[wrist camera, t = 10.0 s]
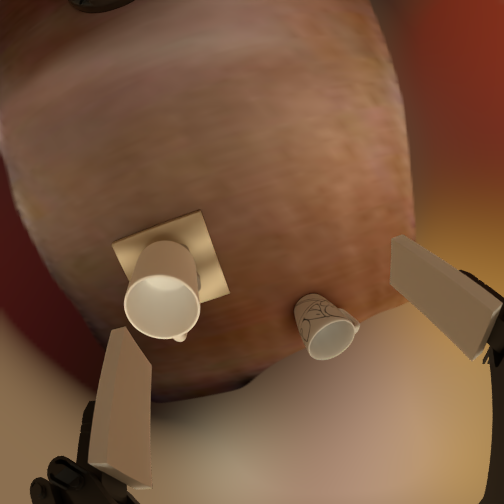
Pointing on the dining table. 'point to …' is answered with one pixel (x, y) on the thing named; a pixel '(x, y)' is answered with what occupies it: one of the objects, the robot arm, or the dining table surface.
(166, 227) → the peg stand
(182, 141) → the dining table surface
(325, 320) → the mug
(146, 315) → the mug
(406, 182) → the dining table surface
